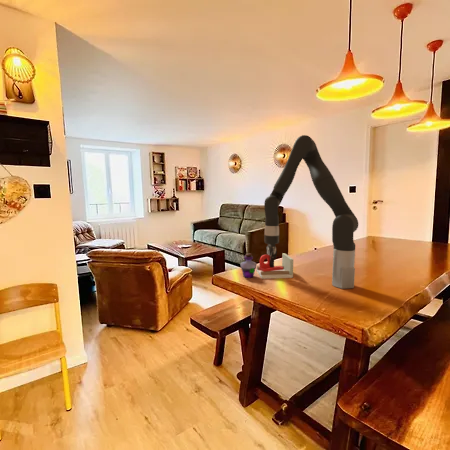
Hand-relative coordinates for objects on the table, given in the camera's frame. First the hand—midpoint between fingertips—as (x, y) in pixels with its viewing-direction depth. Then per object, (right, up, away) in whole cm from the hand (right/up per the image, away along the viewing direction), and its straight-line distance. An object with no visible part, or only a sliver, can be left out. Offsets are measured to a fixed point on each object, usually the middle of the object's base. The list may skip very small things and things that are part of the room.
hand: (271, 266), depth 152 cm
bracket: (0, -2, -2) cm, 3 cm away
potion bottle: (-12, -5, -4) cm, 14 cm away
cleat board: (+1, -4, 0) cm, 4 cm away
